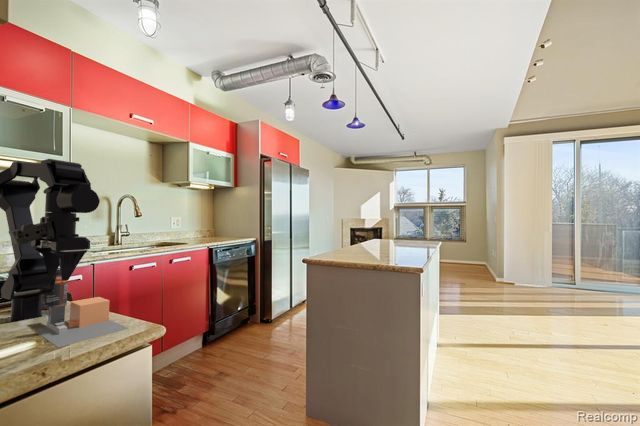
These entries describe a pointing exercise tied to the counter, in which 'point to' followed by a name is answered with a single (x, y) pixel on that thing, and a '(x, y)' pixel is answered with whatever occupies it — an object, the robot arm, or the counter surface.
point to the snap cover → (88, 312)
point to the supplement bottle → (56, 293)
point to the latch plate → (77, 332)
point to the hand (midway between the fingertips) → (58, 278)
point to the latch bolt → (55, 314)
